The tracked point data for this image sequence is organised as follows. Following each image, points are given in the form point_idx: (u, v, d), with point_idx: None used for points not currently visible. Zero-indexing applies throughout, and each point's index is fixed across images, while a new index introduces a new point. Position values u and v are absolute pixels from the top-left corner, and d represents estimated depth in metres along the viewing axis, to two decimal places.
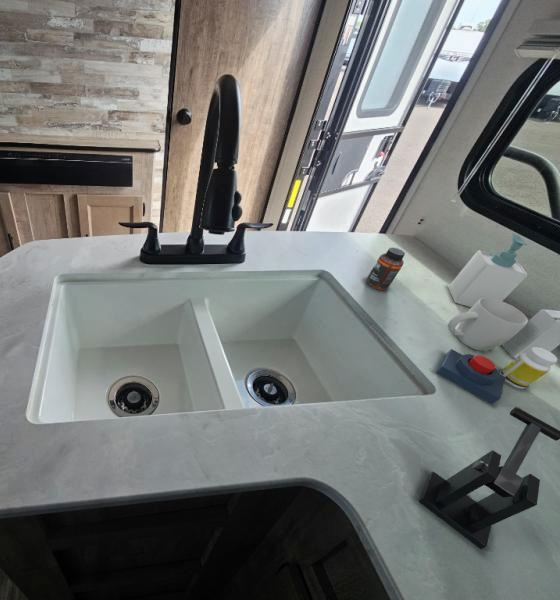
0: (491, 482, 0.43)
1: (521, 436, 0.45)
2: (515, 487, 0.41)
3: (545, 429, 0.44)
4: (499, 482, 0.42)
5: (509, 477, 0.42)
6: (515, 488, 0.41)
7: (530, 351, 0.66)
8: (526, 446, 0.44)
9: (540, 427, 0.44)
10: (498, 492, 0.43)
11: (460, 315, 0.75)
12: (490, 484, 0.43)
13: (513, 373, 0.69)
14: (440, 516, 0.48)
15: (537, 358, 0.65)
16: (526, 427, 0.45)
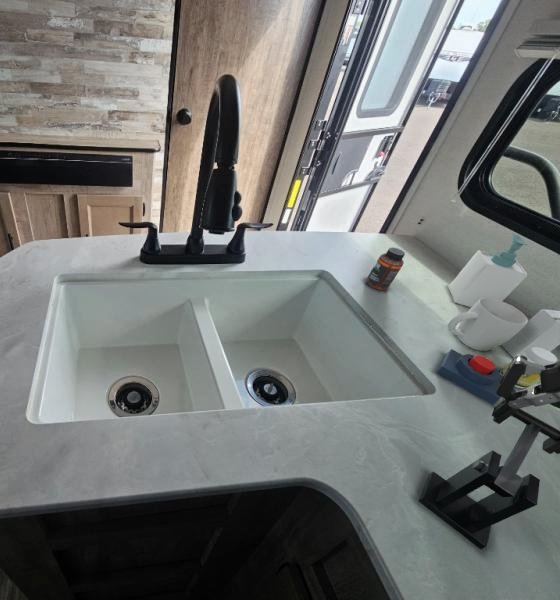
0: (491, 482, 0.43)
1: (521, 436, 0.45)
2: (515, 487, 0.41)
3: (545, 429, 0.44)
4: (499, 482, 0.42)
5: (509, 477, 0.42)
6: (515, 488, 0.41)
7: (530, 351, 0.66)
8: (526, 446, 0.44)
9: (540, 427, 0.44)
10: (498, 492, 0.43)
11: (460, 315, 0.75)
12: (490, 484, 0.43)
13: None
14: (440, 516, 0.48)
15: (537, 358, 0.65)
16: (526, 427, 0.45)
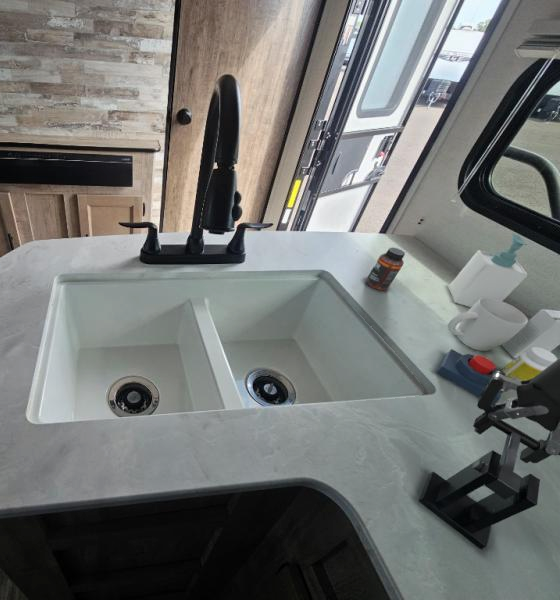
0: (494, 479, 0.42)
1: (506, 443, 0.47)
2: (517, 484, 0.41)
3: (524, 438, 0.47)
4: (502, 478, 0.42)
5: (509, 475, 0.42)
6: (517, 485, 0.41)
7: (530, 351, 0.66)
8: (514, 450, 0.46)
9: (520, 436, 0.47)
10: (501, 492, 0.42)
11: (460, 315, 0.75)
12: (493, 483, 0.42)
13: (513, 373, 0.69)
14: (440, 516, 0.48)
15: (537, 358, 0.65)
16: (508, 436, 0.48)
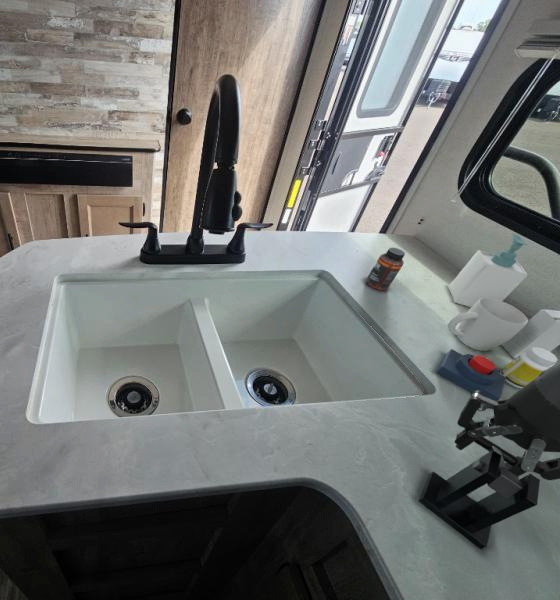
0: (497, 476, 0.42)
1: None
2: (517, 481, 0.42)
3: (504, 452, 0.49)
4: (504, 475, 0.42)
5: (508, 473, 0.43)
6: (518, 482, 0.42)
7: (530, 351, 0.66)
8: (501, 459, 0.47)
9: (500, 450, 0.50)
10: (504, 491, 0.42)
11: (460, 315, 0.75)
12: (496, 480, 0.42)
13: (513, 373, 0.69)
14: (440, 516, 0.48)
15: (537, 358, 0.65)
16: (489, 450, 0.50)
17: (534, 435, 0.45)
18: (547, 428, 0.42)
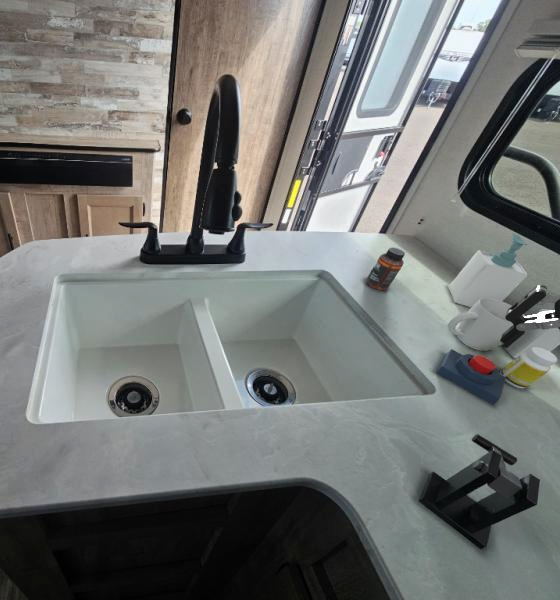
0: (498, 476, 0.42)
1: None
2: (517, 481, 0.42)
3: (503, 452, 0.49)
4: (504, 475, 0.42)
5: (508, 473, 0.43)
6: (518, 482, 0.42)
7: (530, 351, 0.66)
8: None
9: (500, 450, 0.50)
10: (504, 491, 0.42)
11: (460, 315, 0.75)
12: (496, 480, 0.42)
13: (513, 373, 0.69)
14: (440, 516, 0.48)
15: (537, 358, 0.65)
16: (489, 450, 0.50)
17: None
18: None
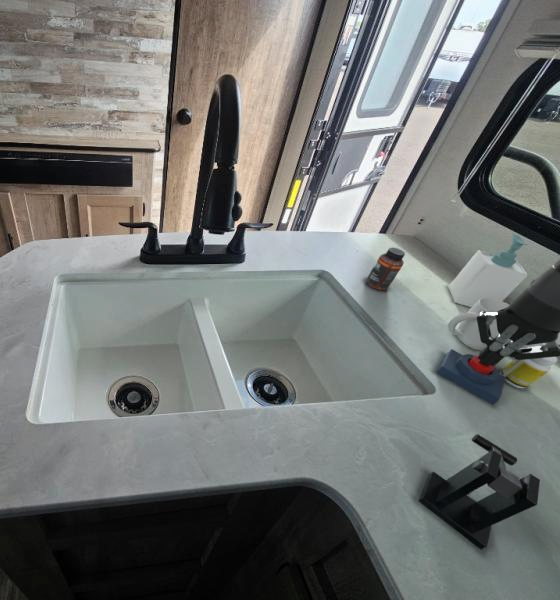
0: (498, 476, 0.42)
1: None
2: (517, 481, 0.42)
3: (503, 452, 0.49)
4: (504, 475, 0.42)
5: (508, 473, 0.43)
6: (518, 482, 0.42)
7: None
8: None
9: (500, 450, 0.50)
10: (504, 491, 0.42)
11: (460, 315, 0.75)
12: (496, 480, 0.42)
13: (513, 373, 0.69)
14: (440, 516, 0.48)
15: (537, 358, 0.65)
16: (489, 450, 0.50)
17: (527, 331, 0.59)
18: (536, 320, 0.56)
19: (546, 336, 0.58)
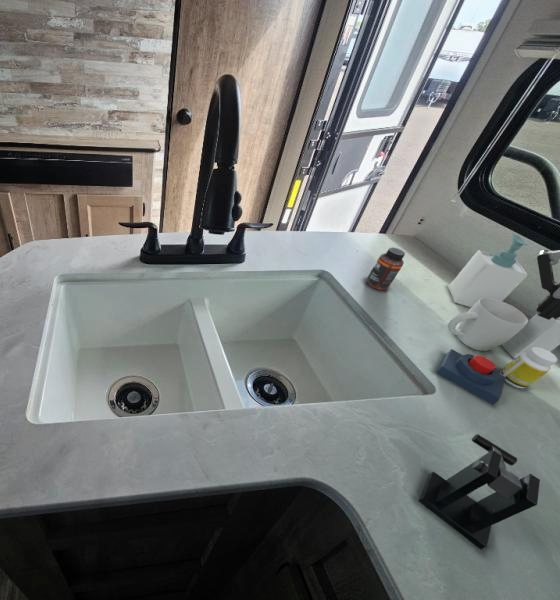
0: (498, 476, 0.42)
1: None
2: (517, 481, 0.42)
3: (503, 452, 0.49)
4: (504, 475, 0.42)
5: (508, 473, 0.43)
6: (518, 482, 0.42)
7: (530, 351, 0.66)
8: None
9: (500, 450, 0.50)
10: (504, 491, 0.42)
11: (460, 315, 0.75)
12: (496, 480, 0.42)
13: (513, 373, 0.69)
14: (440, 516, 0.48)
15: (537, 358, 0.65)
16: (489, 450, 0.50)
17: None
18: None
19: None
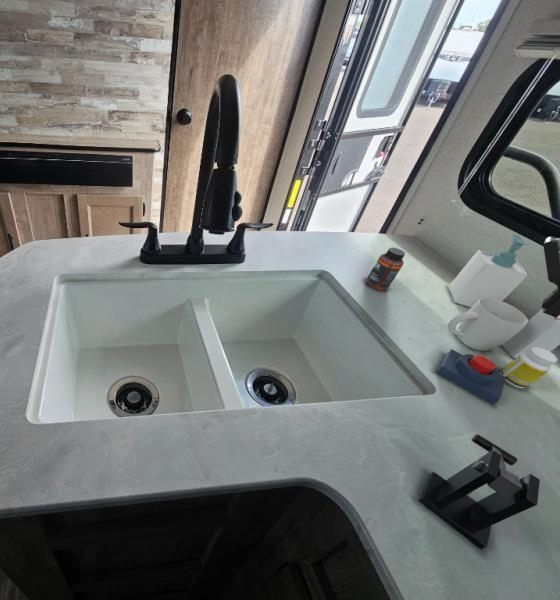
0: (498, 476, 0.42)
1: None
2: (517, 481, 0.42)
3: (503, 452, 0.49)
4: (504, 475, 0.42)
5: (508, 473, 0.43)
6: (518, 482, 0.42)
7: (530, 351, 0.66)
8: None
9: (500, 450, 0.50)
10: (504, 491, 0.42)
11: (460, 315, 0.75)
12: (496, 480, 0.42)
13: (513, 373, 0.69)
14: (440, 516, 0.48)
15: (537, 358, 0.65)
16: (489, 450, 0.50)
17: None
18: None
19: None
